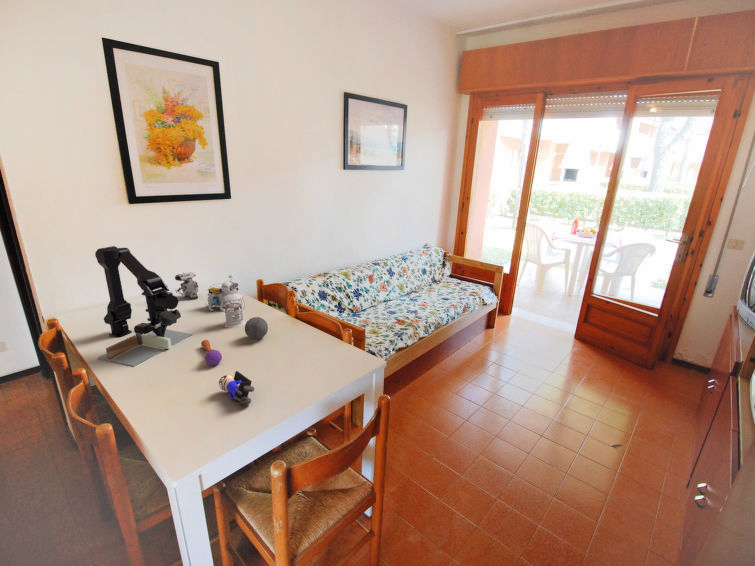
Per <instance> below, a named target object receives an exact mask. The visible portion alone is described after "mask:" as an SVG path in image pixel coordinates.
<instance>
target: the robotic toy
mask: <svg viewBox="0 0 755 566" xmlns="http://www.w3.org/2000/svg"><path fill="white" fill-rule="evenodd" d="M218 284H221V287H220V286H217V285H216V284H214V283H213V285H210V287H209V288H208V289H207V291H208V293H207V294H206V297H205V299H207V303H205V304H206V305H207V306H208V310H209V311H210V312H211V311H213V312H214V311H215V309H214V308H216V307H219V309H220V311H222V312H225V308H224V307H226V305H227V304H230V303H233V301H226V300H224V297H225V296H227V295H229V294H232V291H233V294H237V293H238V292H239V282H234V281H232V285H231V280H226V281H224V282H223V283H221V282H220V283H218ZM215 285H216V286H215ZM214 286H215V287H214ZM217 287H218V288H217ZM212 306H213V307H214V308H213V307H212Z"/></svg>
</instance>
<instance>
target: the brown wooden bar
mask: <svg viewBox="0 0 755 566" xmlns="http://www.w3.org/2000/svg"><path fill="white" fill-rule="evenodd" d="M134 334H135V335H132V336H129V337H127V338H126V339H123V340H121V341H118V342H117V343H114V344H113V345H110V346H107V347H105V351H106V354H107V357H108V359H113V358H114V357H116V356H119V355H121V354H123V353H125V352H127V351H129V350H131V349H133V348H135V347H137V346H139V345H142V344H143V342H142V336H141V335H143V334H140V333H135V332H134Z"/></svg>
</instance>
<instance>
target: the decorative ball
mask: <svg viewBox="0 0 755 566" xmlns="http://www.w3.org/2000/svg"><path fill="white" fill-rule="evenodd" d="M268 331H269V325H268V323H267V321H266V320H265V319H264V318H262V317H260V316H253V317H251V318H249V319H248V320H247V321H246V323H245V325H244V332H245V335H246V336H247V337H248V338H249V339H251V340H261V339H262V338H264V337H265V336H266V335H267V333H268Z"/></svg>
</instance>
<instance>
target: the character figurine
mask: <svg viewBox="0 0 755 566" xmlns="http://www.w3.org/2000/svg"><path fill="white" fill-rule="evenodd" d="M218 387H219V389H220V390H221V391H225V392H226V391H227V392H228V394H229V397H230V400H231V401H233V400H235V401H234V402H235V403H238V402H239V403H240V404H241V405H250V404H251V402H252V398H250V397H249V393H253V392H254V391H255V387H254V386H252V380H251V379H249V378H248V377H247V376H245V375H243V374H242V373H241V372H240V371H238V370H235V372H234V376H232V375H230V374H224V375H223V376H221V377H220V379H219V381H218Z"/></svg>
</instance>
